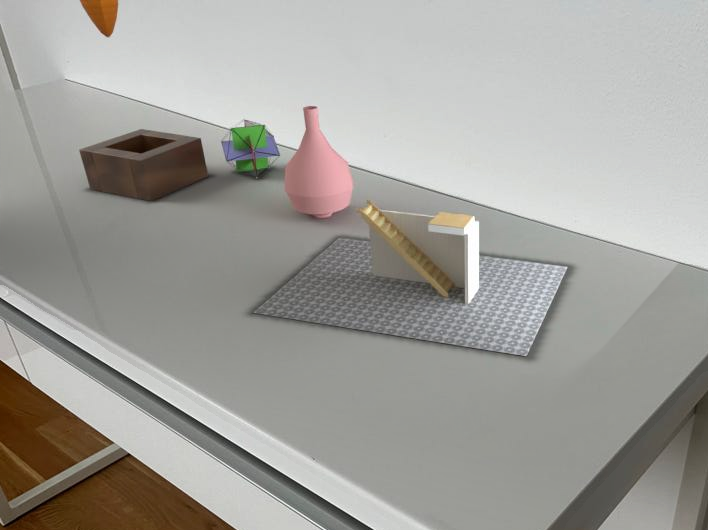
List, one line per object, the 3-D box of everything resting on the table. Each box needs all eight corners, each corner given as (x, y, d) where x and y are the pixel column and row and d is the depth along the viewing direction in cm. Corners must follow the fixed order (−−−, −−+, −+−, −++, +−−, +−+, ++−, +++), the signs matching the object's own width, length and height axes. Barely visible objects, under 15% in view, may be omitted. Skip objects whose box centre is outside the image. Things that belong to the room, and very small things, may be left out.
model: (468, 303, 68) (468, 224, 64) (360, 288, 71) (353, 210, 67) (478, 288, 71) (478, 211, 67) (374, 274, 73) (368, 198, 69)
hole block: (90, 189, 93) (78, 149, 91) (150, 166, 101) (141, 128, 98) (151, 201, 90) (141, 160, 87) (208, 176, 98) (201, 137, 95)
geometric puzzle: (285, 165, 95) (272, 104, 95) (229, 171, 92) (215, 109, 93) (282, 184, 101) (269, 127, 102) (229, 190, 99) (217, 132, 100)
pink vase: (358, 224, 84) (348, 115, 78) (289, 229, 83) (273, 119, 76) (353, 200, 90) (343, 97, 84) (288, 204, 89) (274, 100, 83)
